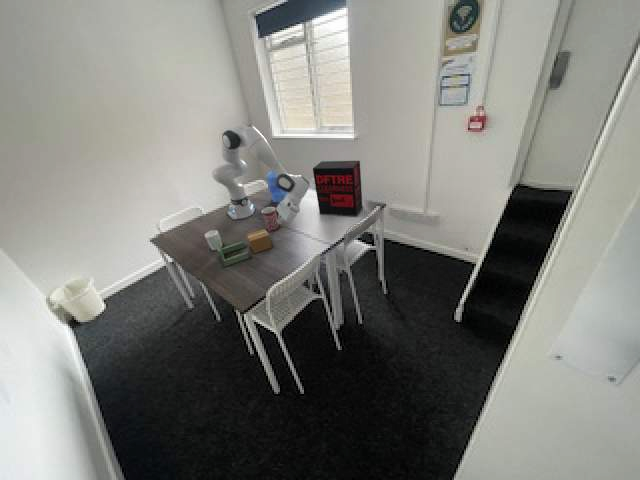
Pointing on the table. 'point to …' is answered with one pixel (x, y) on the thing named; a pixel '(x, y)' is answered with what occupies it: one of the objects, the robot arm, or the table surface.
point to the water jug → (275, 188)
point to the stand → (230, 249)
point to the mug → (271, 218)
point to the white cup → (213, 239)
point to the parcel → (259, 240)
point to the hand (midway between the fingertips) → (278, 223)
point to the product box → (338, 187)
